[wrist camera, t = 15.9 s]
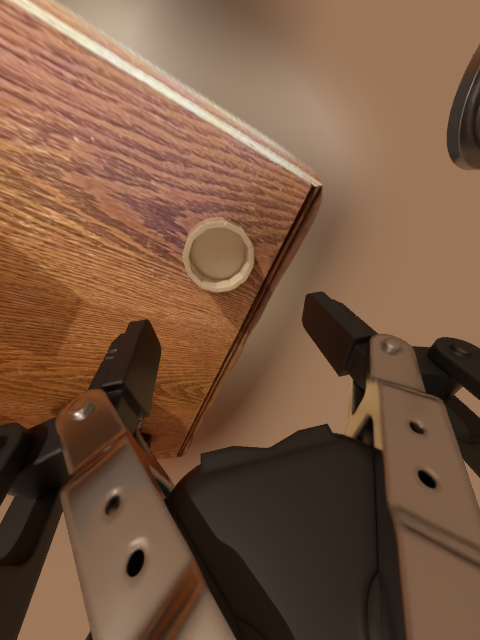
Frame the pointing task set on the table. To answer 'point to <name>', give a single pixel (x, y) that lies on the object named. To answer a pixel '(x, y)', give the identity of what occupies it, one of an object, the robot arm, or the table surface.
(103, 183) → the table surface
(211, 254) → the cream dish
